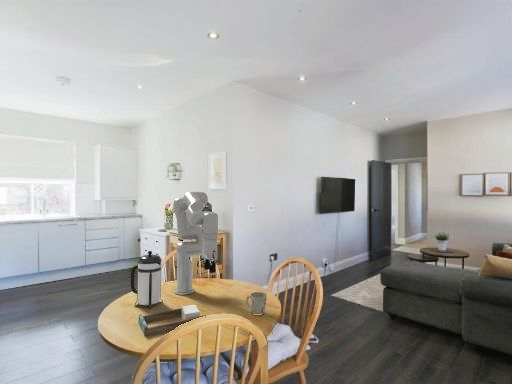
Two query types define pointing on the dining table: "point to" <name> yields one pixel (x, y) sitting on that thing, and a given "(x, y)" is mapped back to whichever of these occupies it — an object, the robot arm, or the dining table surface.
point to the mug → (257, 302)
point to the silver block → (189, 312)
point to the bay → (162, 327)
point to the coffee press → (147, 279)
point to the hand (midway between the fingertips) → (209, 270)
